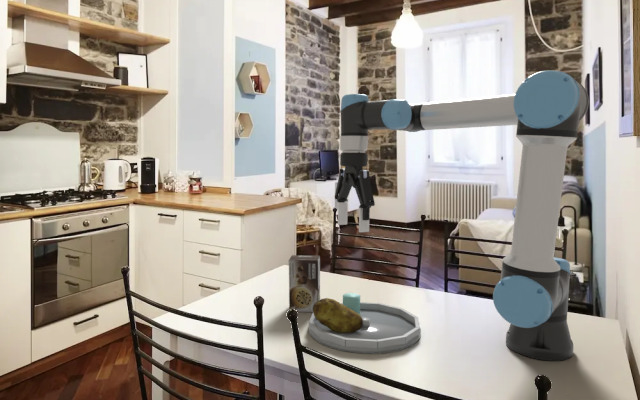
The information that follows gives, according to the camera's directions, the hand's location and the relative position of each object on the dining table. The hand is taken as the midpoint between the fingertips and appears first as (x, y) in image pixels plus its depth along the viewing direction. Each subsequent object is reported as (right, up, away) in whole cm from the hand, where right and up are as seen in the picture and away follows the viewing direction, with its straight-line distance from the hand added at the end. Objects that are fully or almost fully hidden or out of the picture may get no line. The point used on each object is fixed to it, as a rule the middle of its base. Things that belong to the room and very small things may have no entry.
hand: (352, 228), depth 132 cm
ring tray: (+3, -27, -4) cm, 28 cm away
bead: (0, -25, +3) cm, 26 cm away
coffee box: (-14, -26, +13) cm, 32 cm away
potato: (-5, -27, -8) cm, 28 cm away
